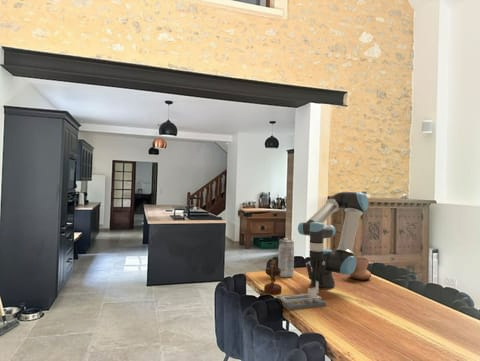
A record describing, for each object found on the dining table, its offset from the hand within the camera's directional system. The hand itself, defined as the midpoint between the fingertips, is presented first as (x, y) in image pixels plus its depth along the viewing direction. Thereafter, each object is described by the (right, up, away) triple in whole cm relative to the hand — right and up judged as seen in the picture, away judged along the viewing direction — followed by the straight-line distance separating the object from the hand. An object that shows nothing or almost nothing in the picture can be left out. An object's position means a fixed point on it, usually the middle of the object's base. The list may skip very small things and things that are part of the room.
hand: (315, 292), depth 175 cm
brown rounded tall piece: (-22, -5, +16) cm, 28 cm away
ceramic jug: (+42, -7, +47) cm, 63 cm away
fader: (-2, -2, -1) cm, 4 cm away
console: (-9, -5, -3) cm, 11 cm away
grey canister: (-9, -6, +50) cm, 52 cm away
